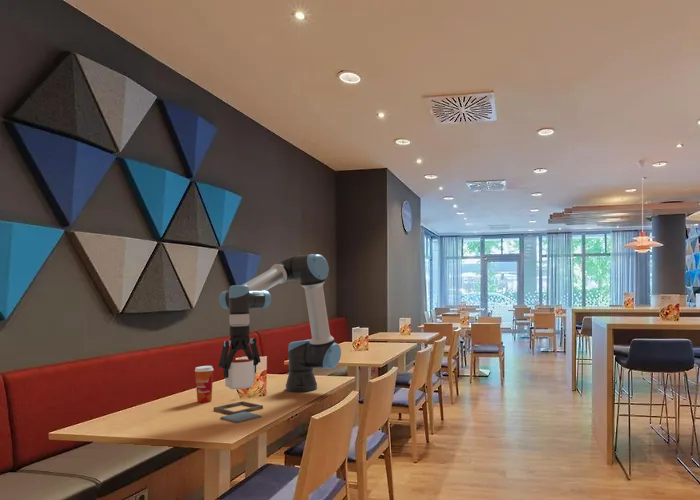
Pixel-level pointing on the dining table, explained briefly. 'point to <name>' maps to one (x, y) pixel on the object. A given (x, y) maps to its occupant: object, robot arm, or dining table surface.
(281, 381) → the dining table surface
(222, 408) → the frame
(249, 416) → the coaster
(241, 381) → the cup
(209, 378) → the coffee cup
